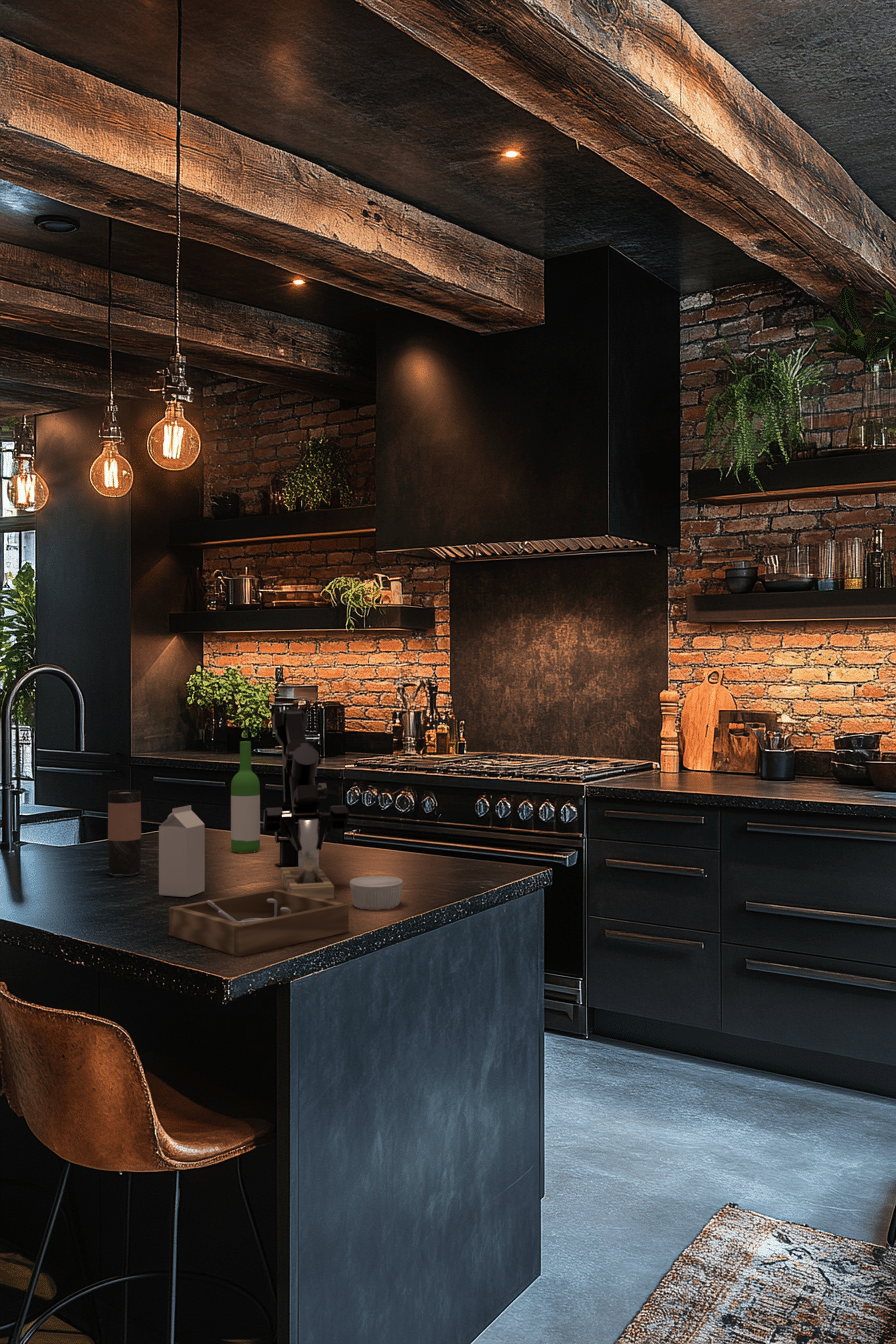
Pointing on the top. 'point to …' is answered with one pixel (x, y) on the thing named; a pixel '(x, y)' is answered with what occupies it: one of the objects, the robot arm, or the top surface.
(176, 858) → the milk carton
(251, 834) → the wine bottle
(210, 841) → the top surface
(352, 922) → the top surface
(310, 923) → the tray
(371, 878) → the ramekin
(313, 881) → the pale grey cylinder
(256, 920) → the wall mount rack
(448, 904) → the top surface
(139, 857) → the travel mug
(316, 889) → the wooden slotted holder
